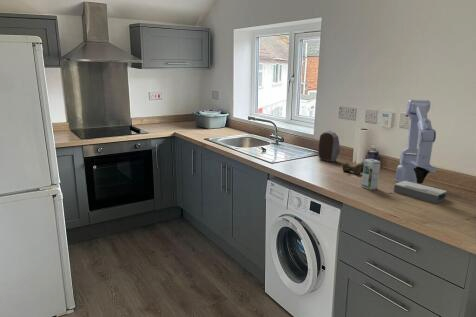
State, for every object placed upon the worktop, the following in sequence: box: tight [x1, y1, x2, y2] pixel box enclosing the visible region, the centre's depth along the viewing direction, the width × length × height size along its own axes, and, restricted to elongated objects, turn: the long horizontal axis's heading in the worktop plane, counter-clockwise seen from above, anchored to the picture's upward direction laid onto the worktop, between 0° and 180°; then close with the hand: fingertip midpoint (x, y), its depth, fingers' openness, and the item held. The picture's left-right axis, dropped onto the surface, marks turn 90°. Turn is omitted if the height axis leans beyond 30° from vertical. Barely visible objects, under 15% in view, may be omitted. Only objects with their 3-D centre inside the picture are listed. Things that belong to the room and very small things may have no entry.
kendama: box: [342, 161, 364, 176], centre depth 213 cm, size 6×10×20 cm
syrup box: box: [360, 158, 382, 191], centre depth 182 cm, size 6×6×14 cm
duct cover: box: [394, 181, 447, 196], centre depth 173 cm, size 20×10×1 cm, turn 39°
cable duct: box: [393, 184, 447, 204], centre depth 173 cm, size 20×10×4 cm, turn 39°
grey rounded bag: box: [317, 130, 341, 162], centre depth 238 cm, size 15×8×20 cm, turn 41°
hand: (419, 183), depth 172 cm, fingers closed
